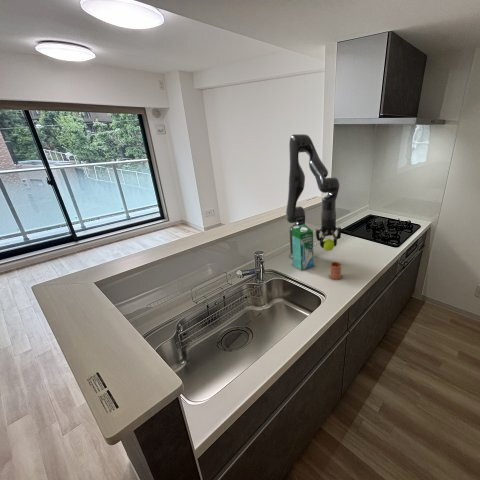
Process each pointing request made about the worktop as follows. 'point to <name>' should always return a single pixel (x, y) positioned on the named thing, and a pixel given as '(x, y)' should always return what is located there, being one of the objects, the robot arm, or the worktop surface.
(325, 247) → the ball
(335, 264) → the cup
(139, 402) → the worktop surface
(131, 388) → the worktop surface
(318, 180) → the robot arm
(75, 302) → the worktop surface
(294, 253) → the milk carton
